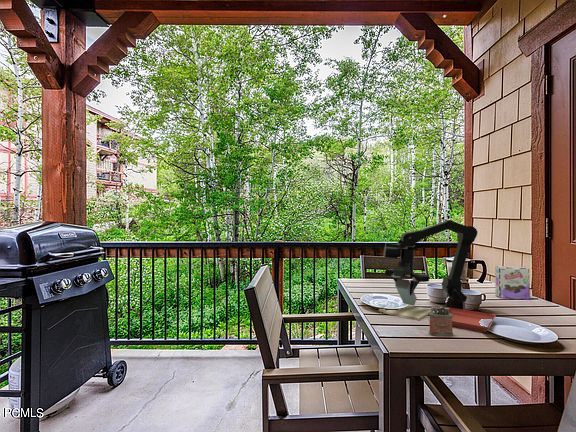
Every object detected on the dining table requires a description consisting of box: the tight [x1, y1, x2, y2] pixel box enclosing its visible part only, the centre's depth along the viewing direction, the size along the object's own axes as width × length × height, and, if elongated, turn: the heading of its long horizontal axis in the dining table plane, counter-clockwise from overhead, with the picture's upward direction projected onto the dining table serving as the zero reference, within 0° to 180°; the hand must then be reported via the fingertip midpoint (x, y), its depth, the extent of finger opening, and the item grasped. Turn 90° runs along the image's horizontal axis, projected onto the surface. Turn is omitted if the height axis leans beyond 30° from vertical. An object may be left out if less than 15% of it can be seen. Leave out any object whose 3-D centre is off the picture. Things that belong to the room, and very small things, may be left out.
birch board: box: [378, 304, 434, 321], centre depth 138 cm, size 18×16×1 cm
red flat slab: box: [445, 306, 497, 333], centre depth 123 cm, size 18×18×3 cm
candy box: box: [494, 265, 531, 301], centre depth 162 cm, size 14×6×16 cm, turn 73°
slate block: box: [394, 278, 418, 307], centre depth 140 cm, size 5×4×13 cm
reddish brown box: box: [428, 305, 454, 337], centre depth 111 cm, size 8×3×10 cm, turn 84°
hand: (405, 294), depth 139 cm, fingers closed on slate block, 5 cm apart
